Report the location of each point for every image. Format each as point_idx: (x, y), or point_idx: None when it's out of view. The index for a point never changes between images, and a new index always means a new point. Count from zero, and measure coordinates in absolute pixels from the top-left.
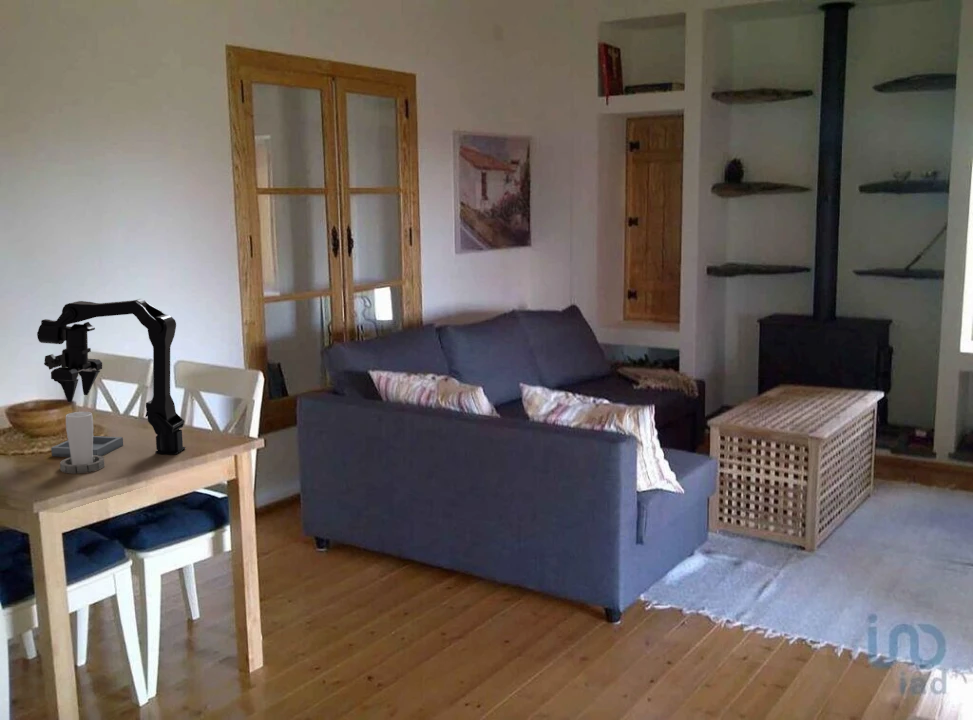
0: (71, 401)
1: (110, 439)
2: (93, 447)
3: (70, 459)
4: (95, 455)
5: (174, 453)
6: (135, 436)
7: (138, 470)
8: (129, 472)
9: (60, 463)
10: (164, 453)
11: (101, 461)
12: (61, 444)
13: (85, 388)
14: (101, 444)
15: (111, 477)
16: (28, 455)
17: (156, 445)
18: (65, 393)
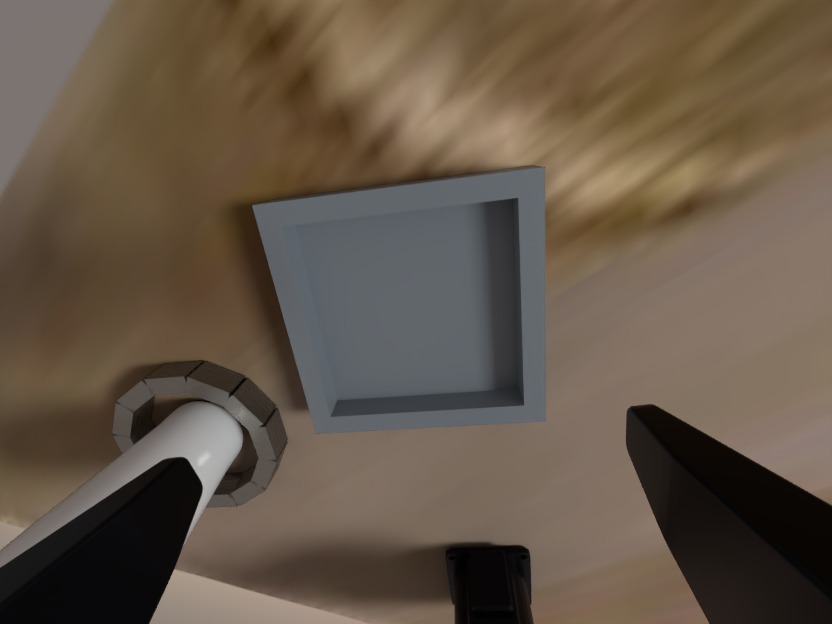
0: (187, 497)
1: (521, 369)
2: (429, 328)
3: (191, 391)
4: (269, 453)
5: (452, 601)
6: (714, 359)
7: (271, 576)
8: (244, 565)
9: (121, 399)
10: (449, 575)
11: (223, 506)
12: (326, 214)
13: (693, 526)
14: (488, 331)
15: (183, 548)
16: (229, 50)
17: (470, 569)
18: (9, 579)
